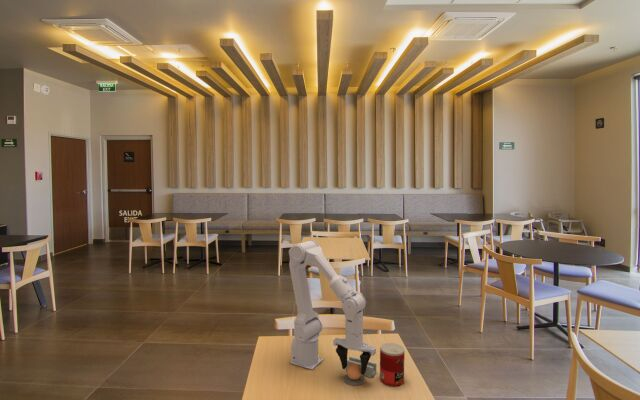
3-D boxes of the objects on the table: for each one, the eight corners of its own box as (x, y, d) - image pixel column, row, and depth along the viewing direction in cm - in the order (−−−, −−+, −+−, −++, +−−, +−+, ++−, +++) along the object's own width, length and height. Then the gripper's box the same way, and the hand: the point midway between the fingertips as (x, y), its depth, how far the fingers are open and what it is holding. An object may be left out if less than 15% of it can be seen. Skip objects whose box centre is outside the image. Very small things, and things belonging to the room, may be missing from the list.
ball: (344, 380, 125) (344, 365, 124) (350, 373, 129) (350, 358, 128) (358, 384, 122) (358, 369, 122) (364, 376, 126) (364, 362, 126)
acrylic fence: (345, 369, 131) (345, 360, 131) (349, 365, 134) (349, 356, 134) (372, 377, 126) (372, 367, 126) (376, 373, 129) (376, 363, 129)
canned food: (399, 389, 120) (399, 356, 119) (376, 381, 124) (376, 349, 123) (407, 377, 126) (407, 346, 125) (384, 371, 131) (385, 340, 130)
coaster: (339, 381, 124) (339, 381, 124) (349, 371, 130) (349, 370, 130) (359, 387, 121) (359, 387, 121) (367, 377, 127) (367, 376, 127)
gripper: (379, 330, 124) (379, 370, 125) (339, 322, 131) (339, 359, 132) (371, 339, 118) (370, 380, 119) (330, 329, 125) (330, 368, 126)
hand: (354, 370), depth 125 cm, fingers open, 6 cm apart
